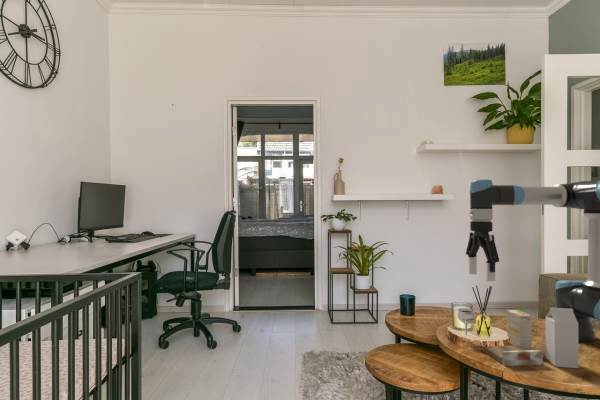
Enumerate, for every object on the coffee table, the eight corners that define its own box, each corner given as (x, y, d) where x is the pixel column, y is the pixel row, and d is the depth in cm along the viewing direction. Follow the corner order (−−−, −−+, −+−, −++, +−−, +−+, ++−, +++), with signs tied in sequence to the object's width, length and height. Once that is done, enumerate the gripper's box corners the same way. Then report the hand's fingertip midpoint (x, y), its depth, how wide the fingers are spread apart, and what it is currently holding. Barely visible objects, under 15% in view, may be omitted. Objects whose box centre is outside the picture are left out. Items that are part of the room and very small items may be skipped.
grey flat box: (518, 350, 140) (518, 338, 140) (543, 364, 128) (543, 351, 128) (483, 351, 139) (483, 339, 139) (504, 366, 126) (504, 352, 127)
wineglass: (453, 339, 151) (453, 309, 152) (462, 336, 156) (462, 307, 156) (470, 344, 146) (470, 313, 146) (478, 340, 150) (478, 310, 150)
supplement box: (532, 350, 140) (532, 315, 141) (520, 350, 140) (520, 315, 140) (518, 342, 149) (518, 309, 149) (506, 342, 148) (506, 309, 149)
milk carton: (578, 368, 125) (578, 311, 125) (554, 367, 126) (554, 310, 126) (567, 360, 132) (567, 306, 132) (545, 358, 133) (545, 305, 133)
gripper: (457, 219, 153) (457, 271, 153) (488, 222, 128) (488, 284, 128) (475, 219, 153) (475, 271, 153) (510, 222, 128) (510, 284, 128)
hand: (481, 277), depth 140 cm, fingers open, 13 cm apart
